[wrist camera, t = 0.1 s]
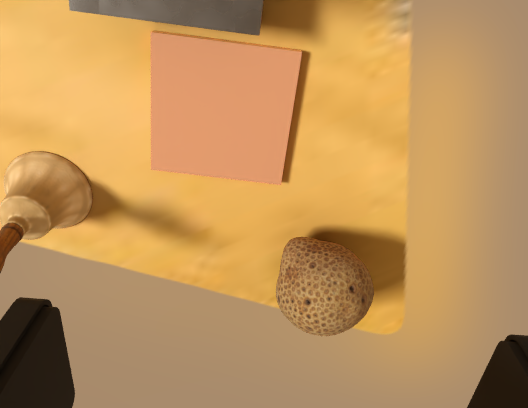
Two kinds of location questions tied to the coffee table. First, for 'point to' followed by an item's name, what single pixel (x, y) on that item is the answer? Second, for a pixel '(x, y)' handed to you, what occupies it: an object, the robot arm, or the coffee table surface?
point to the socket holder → (183, 12)
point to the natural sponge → (322, 286)
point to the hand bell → (41, 198)
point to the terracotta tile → (221, 106)
